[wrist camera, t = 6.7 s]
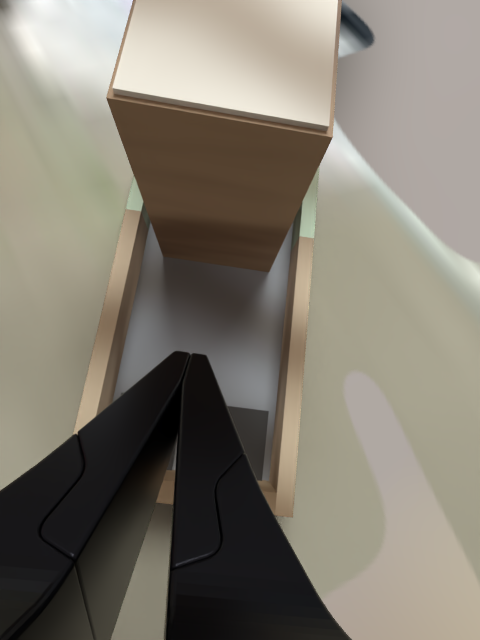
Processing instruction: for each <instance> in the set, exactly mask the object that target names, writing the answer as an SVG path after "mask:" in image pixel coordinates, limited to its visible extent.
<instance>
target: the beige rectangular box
mask: <svg viewBox="0 0 480 640" xmlns="http://www.w3.org/2000/svg"><path fill="white" fill-rule="evenodd" d="M341 3H342V0H133V3H132V6H131V10H130V14H129V17H128V21H127V25H126V28H125V32H124V35H123V39H122V43H121V46H120V50H119V54H118V57H117V61H116V65H115V68H114V72H113V76H112V79H111V83H110V86H109V90H108V94H107V97H106V98H107V101H108V104H109V107H110V109H111V112H112V115H113V118H114V121H115V123H116V126H117V129H118V132H119V135H120V137H121V140H122V143H123V146H124V149H125V151H126V154H127V157H128V160H129V163H130V165H131V168H132V171H133V174H134V177H135V179H136V182H137V185H138V188H139V191H140V193H141V196H142V199H143V202H144V205H145V207H146V210H147V213H148V216H149V219H150V221H151V224H152V227H153V230H154V233H155V235H156V238H157V241H158V244H159V247H160V249H161V252H162V255H163V257H170V258H177V259H183V260H190V261H197V262H203V263H210V264H217V265H223V266H230V267H237V268H243V269H250V270H257V271H264V272H270V270H271V267H272V265H273V263H274V261H275V259H276V257H277V255H278V252H279V250H280V248H281V246H282V244H283V242H284V240H285V238H286V235H287V233H288V231H289V229H290V227H291V225H292V223H293V221H294V218H295V216H296V214H297V212H298V210H299V208H300V206H301V203H302V201H303V199H304V197H305V195H306V193H307V191H308V189H309V186H310V184H311V182H312V180H313V178H314V176H315V174H316V172H317V169H318V167H319V165H320V163H321V161H322V159H323V157H324V154H325V152H326V150H327V148H328V146H329V144H330V142H331V140H332V137H333V123H334V108H335V92H336V77H337V63H338V48H339V33H340V18H341Z"/></svg>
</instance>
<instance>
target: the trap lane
mask: <svg viewBox="0 0 480 640" xmlns="http://www.w3.org/2000/svg"><path fill="white" fill-rule="evenodd" d="M318 178H319V167H318V169H317V172H316V174H315V176H314V178H313V180H312V182H311V184H310V186H309V189H308V191H307V193H306V195H305V197H304V199H303V201H302V203H301V206H300V208H299V210H298V212H297V214H296V216H295V218H294V221H293V223H292V225H291V227H290V229H289V231H288V233H287V235H286V238H285V240H284V242H283V244H282V246H281V248H280V250H279V252H278V255H277V257H276V259H275V261H274V263H273V265H272V267H271V270H270V272H264V271H257V270H250V269H243V268H237V267H230V266H223V265H217V264H210V263H203V262H197V261H190V260H183V259H177V258H170V257H163V255H162V252H161V249H160V247H159V244H158V241H157V238H156V235H155V233H154V230H153V227H152V224H151V221H150V219H149V216H148V213H147V210H146V207H145V205H144V202H143V199H142V196H141V193H140V191H139V188H138V185H137V182H136V179H135V177H134V176H133V180H132V185H131V189H130V193H129V197H128V202H127V206H126V210H125V215H124V219H123V223H122V227H121V232H120V236H119V240H118V245H117V249H116V253H115V257H114V262H113V266H112V270H111V275H110V279H109V283H108V287H107V292H106V296H105V300H104V304H103V309H102V313H101V317H100V322H99V326H98V330H97V334H96V339H95V343H94V347H93V352H92V356H91V360H90V364H89V369H88V373H87V377H86V382H85V386H84V390H83V394H82V399H81V403H80V407H79V411H78V416H77V420H76V424H75V429H74V433H73V435H74V434H77V432H78V431H79V430H80V429H81V428H82V427H84V426H85V425H86V424H87V423H88V422H90V421H91V420H92V419H93V418H94V417H96V416H97V415H98V414H99V413H100V412H102V411H103V410H104V409H105V408H106V407H108V406H109V405H110V404H111V403H112V402H114V401H115V400H116V399H117V398H118V397H120V396H121V395H122V394H123V393H124V392H126V391H127V390H128V389H129V388H130V387H132V386H133V385H134V384H135V383H136V382H138V381H139V380H140V379H141V378H142V377H144V376H145V375H146V374H147V373H148V372H150V371H151V370H152V369H153V368H154V367H156V366H157V365H158V364H159V363H161V362H162V361H163V360H164V359H165V358H167V357H168V356H169V355H170V354H171V353H173V352H174V351H183V352H189V353H190V355H191V354H192V353H198V354H205V355H207V357H208V359H209V361H210V364H211V366H212V369H213V371H214V374H215V377H216V379H217V382H218V384H219V387H220V389H221V392H222V394H223V397H224V399H225V402H226V404H227V407H228V409H229V412H230V414H231V417H232V419H233V422H234V425H235V427H236V430H237V432H238V435H239V437H240V440H241V442H242V445H243V447H244V450H245V454H246V455H247V457H248V459H249V462H250V465H251V467H252V470H253V472H254V474H255V476H256V479H257V481H258V483H259V486H260V488H261V490H262V492H263V494H264V496H265V498H266V500H267V502H268V504H269V506H270V508H271V510H272V512H273V514H274V515H276V516H285V517H293V506H294V493H295V480H296V467H297V454H298V441H299V428H300V415H301V401H302V388H303V375H304V362H305V349H306V336H307V323H308V310H309V296H310V283H311V270H312V257H313V244H314V231H315V218H316V205H317V191H318ZM77 435H78V434H77ZM177 439H178V435H177ZM177 439H176V443H175V446H174V449H173V452H172V455H171V458H170V461H169V464H168V467H167V470H166V473H165V476H164V479H163V482H162V485H161V488H160V491H159V494H158V497H157V500H156V503H165V504H173V497H174V482H175V467H176V453H177Z"/></svg>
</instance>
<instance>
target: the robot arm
mask: <svg viewBox="0 0 480 640" xmlns="http://www.w3.org/2000/svg"><path fill="white" fill-rule="evenodd" d="M77 434H78V435H77ZM77 434H74V435H73V436H71V437H70V438H69V439H68V440H67V441H65V442H64V443H63V444H62V445H61V446H59V447H58V448H57V449H56V450H54V451H53V452H52V453H50V454H49V455H48V456H47V457H45V458H44V459H43V460H42V461H40V462H39V463H38V464H37V465H35V466H34V467H33V468H31V469H30V470H28V471H27V472H26V473H24V474H23V475H21V476H20V477H19V478H17V479H16V480H15V481H13V482H12V483H10V484H9V485H8V486H6V487H5V488H3V489H2V490H1V491H0V640H110V639H111V636H112V633H113V630H114V627H115V624H116V621H117V618H118V615H119V612H120V609H121V606H122V603H123V600H124V597H125V594H126V591H127V588H128V585H129V582H130V579H131V576H132V573H133V570H134V567H135V564H136V561H137V558H138V555H139V552H140V549H141V546H142V543H143V540H144V537H145V534H146V531H147V528H148V525H149V522H150V519H151V515H152V512H153V509H154V506H155V503H156V500H157V497H158V494H159V491H160V488H161V485H162V482H163V479H164V476H165V473H166V470H167V467H168V464H169V461H170V458H171V455H172V452H173V449H174V446H175V443H176V439H177V435H178V439H177V453H176V467H175V482H174V497H173V511H172V526H171V541H170V555H169V570H168V584H167V599H166V614H165V628H164V640H352V639H351V638H350V637H349V636H348V635H347V634H346V633H345V632H344V630H343V629H342V628H341V627H340V626H339V624H338V623H337V622H336V621H335V619H334V618H333V617H332V615H331V614H330V612H329V611H328V610H327V608H326V606H325V605H324V603H323V602H322V600H321V599H320V597H319V595H318V594H317V592H316V590H315V588H314V587H313V585H312V583H311V581H310V579H309V578H308V576H307V574H306V572H305V570H304V569H303V567H302V565H301V563H300V561H299V559H298V558H297V556H296V554H295V552H294V550H293V549H292V547H291V545H290V543H289V541H288V539H287V538H286V536H285V534H284V532H283V530H282V529H281V527H280V525H279V523H278V521H277V519H276V518H275V516H274V514H273V512H272V510H271V508H270V506H269V504H268V502H267V500H266V498H265V496H264V494H263V492H262V490H261V488H260V486H259V483H258V481H257V479H256V476H255V474H254V472H253V470H252V467H251V465H250V462H249V459H248V457H247V455H246V454H245V450H244V447H243V445H242V442H241V440H240V437H239V435H238V432H237V430H236V427H235V425H234V422H233V419H232V417H231V414H230V412H229V409H228V407H227V404H226V402H225V399H224V397H223V394H222V392H221V389H220V387H219V384H218V382H217V379H216V377H215V374H214V371H213V369H212V366H211V364H210V361H209V359H208V357H207V355H205V354H198V353H192V354H191V355H190V353H189V352H183V351H174V352H173V353H171V354H170V355H169V356H168V357H167V358H165V359H164V360H163V361H162V362H161V363H159V364H158V365H157V366H156V367H154V368H153V369H152V370H151V371H150V372H148V373H147V374H146V375H145V376H144V377H142V378H141V379H140V380H139V381H138V382H136V383H135V384H134V385H133V386H132V387H130V388H129V389H128V390H127V391H126V392H124V393H123V394H122V395H121V396H120V397H118V398H117V399H116V400H115V401H114V402H112V403H111V404H110V405H109V406H108V407H106V408H105V409H104V410H103V411H102V412H100V413H99V414H98V415H97V416H96V417H94V418H93V419H92V420H91V421H90V422H88V423H87V424H86V425H85V426H84V427H82V428H81V429H80V430H79V431H78V432H77Z"/></svg>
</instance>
